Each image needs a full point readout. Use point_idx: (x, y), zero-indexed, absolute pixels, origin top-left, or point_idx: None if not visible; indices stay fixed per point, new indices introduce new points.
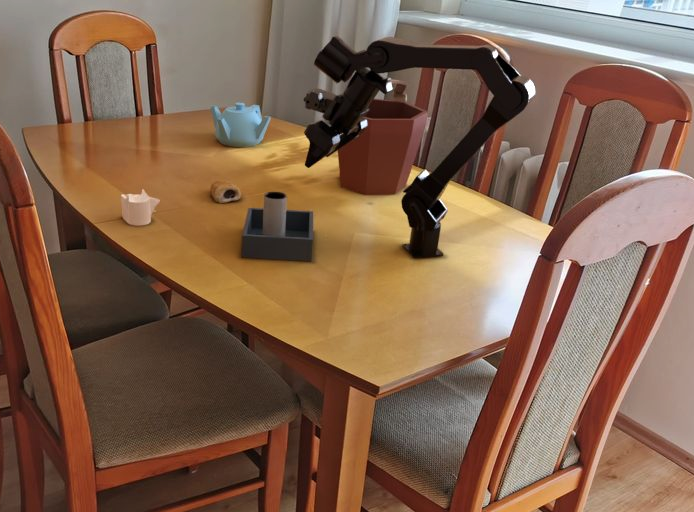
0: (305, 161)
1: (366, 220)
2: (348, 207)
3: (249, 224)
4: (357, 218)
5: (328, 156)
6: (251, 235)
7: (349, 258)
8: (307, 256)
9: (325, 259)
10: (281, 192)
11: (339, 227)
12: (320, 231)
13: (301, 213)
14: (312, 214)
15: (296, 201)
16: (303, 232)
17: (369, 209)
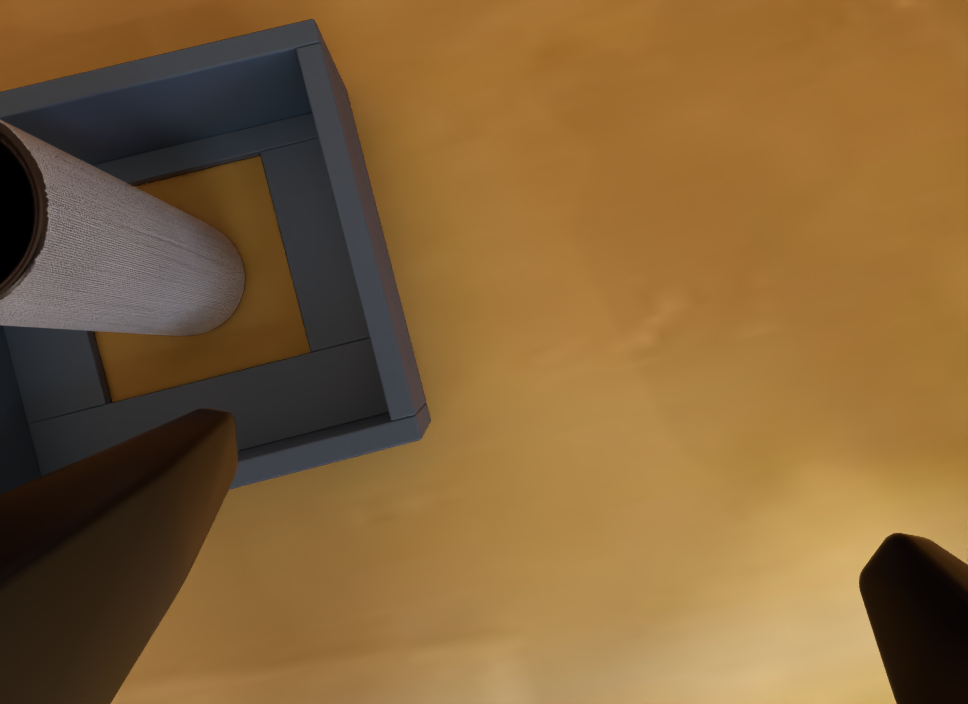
0: (147, 431)
1: (721, 656)
2: (882, 517)
3: (112, 109)
4: (731, 603)
5: (869, 604)
6: None
7: (158, 691)
8: None
9: None
10: (32, 242)
11: (558, 542)
12: (459, 461)
13: (380, 369)
14: (359, 450)
15: (857, 216)
16: (378, 388)
17: None
